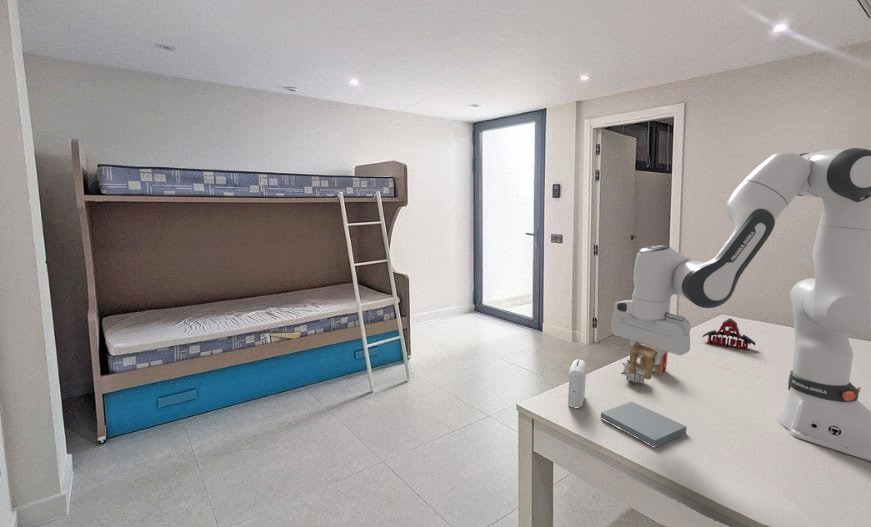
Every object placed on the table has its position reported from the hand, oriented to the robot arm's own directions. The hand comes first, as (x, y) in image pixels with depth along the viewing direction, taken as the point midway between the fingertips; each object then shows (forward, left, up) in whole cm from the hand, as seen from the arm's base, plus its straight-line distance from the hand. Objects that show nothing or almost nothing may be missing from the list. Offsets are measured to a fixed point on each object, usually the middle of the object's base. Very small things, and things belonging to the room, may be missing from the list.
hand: (646, 360), depth 113 cm
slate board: (0, 0, -18) cm, 18 cm away
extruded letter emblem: (+23, -87, -19) cm, 92 cm away
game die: (+19, -23, -19) cm, 35 cm away
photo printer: (+19, +4, -19) cm, 27 cm away
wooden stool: (0, 0, -4) cm, 4 cm away
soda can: (+22, -38, -19) cm, 48 cm away
